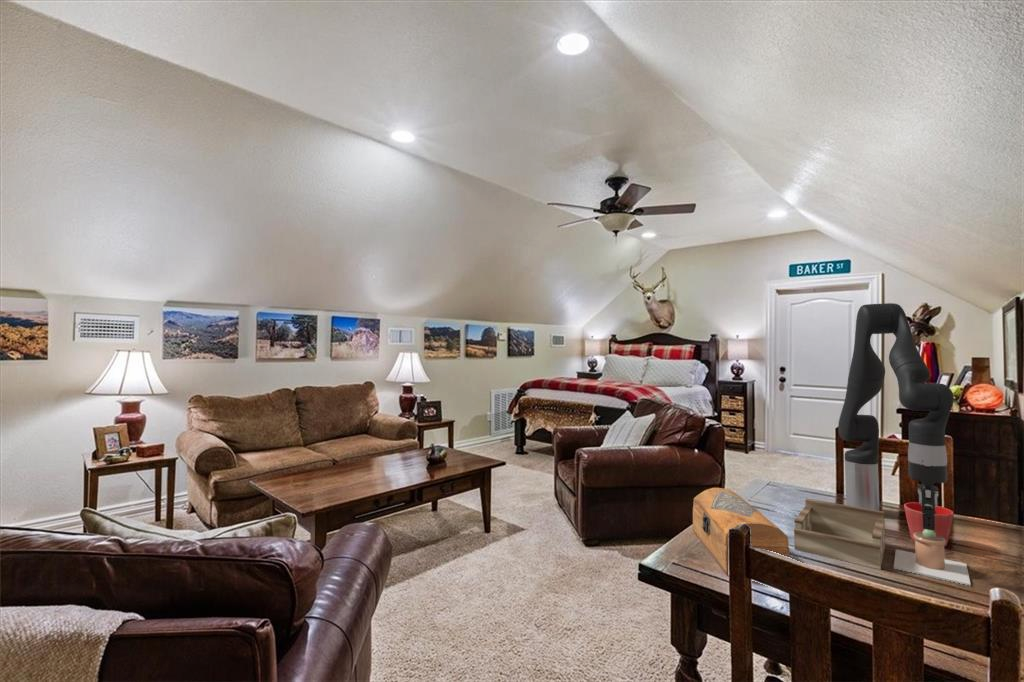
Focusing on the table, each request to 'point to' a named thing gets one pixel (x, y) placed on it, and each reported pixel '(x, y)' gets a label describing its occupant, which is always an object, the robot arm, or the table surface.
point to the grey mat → (951, 572)
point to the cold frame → (841, 532)
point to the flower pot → (941, 520)
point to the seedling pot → (929, 549)
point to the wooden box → (732, 524)
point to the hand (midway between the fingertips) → (928, 524)
